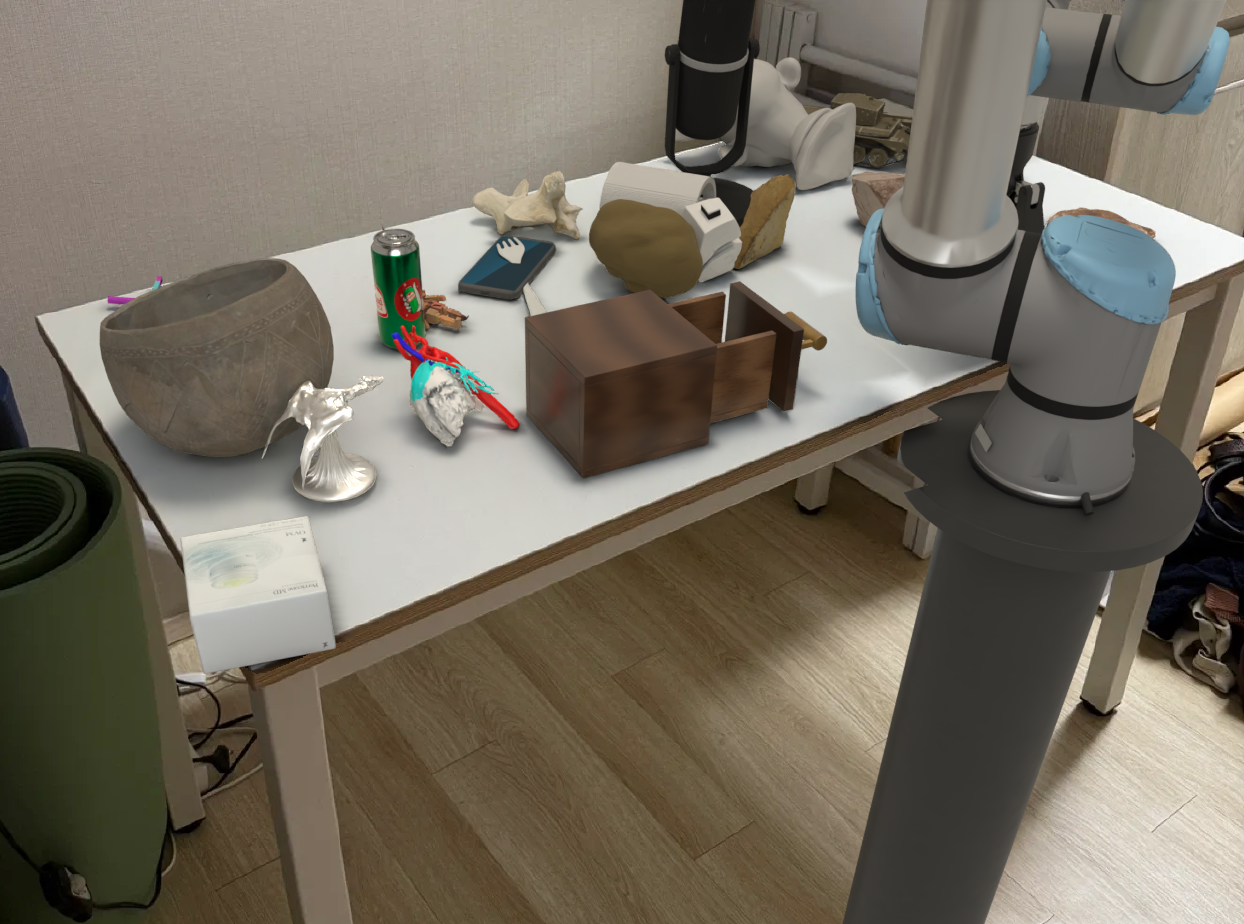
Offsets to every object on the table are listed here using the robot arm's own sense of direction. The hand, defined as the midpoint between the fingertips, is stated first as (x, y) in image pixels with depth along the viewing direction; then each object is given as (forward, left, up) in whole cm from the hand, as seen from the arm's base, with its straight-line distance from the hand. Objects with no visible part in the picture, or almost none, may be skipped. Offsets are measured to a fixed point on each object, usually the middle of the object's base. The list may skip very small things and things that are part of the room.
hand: (961, 305), depth 147 cm
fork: (+27, +43, +1) cm, 51 cm away
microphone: (+38, +12, -1) cm, 40 cm away
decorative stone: (+20, +34, 0) cm, 39 cm away
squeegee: (+41, +89, 0) cm, 98 cm away
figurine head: (+36, -10, +2) cm, 37 cm away
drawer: (-6, +35, 0) cm, 35 cm away
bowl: (+7, +81, 0) cm, 81 cm away
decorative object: (+36, +36, 0) cm, 51 cm away
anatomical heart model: (+3, +63, -1) cm, 63 cm away
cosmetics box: (-14, +87, +3) cm, 88 cm away
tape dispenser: (+21, +21, -1) cm, 29 cm away
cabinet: (-6, +48, -1) cm, 49 cm away
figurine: (-3, +76, -1) cm, 76 cm away
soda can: (+20, +61, -1) cm, 64 cm away
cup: (+36, +27, +4) cm, 45 cm away
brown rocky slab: (+8, -28, -1) cm, 29 cm away
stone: (+20, -6, -1) cm, 21 cm away
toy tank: (+47, -17, -1) cm, 50 cm away
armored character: (+19, +54, +5) cm, 57 cm away
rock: (+23, +14, -1) cm, 27 cm away
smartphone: (+32, +43, -1) cm, 54 cm away
